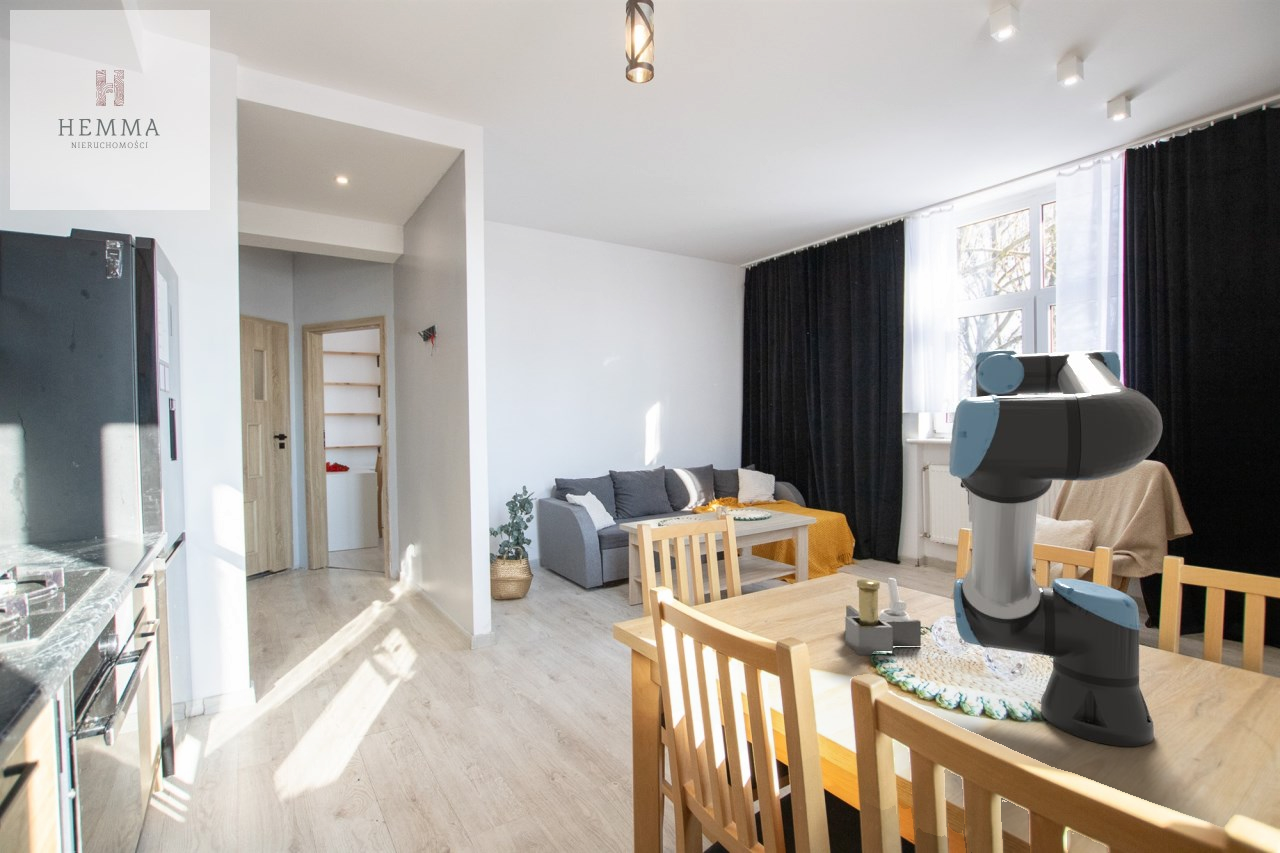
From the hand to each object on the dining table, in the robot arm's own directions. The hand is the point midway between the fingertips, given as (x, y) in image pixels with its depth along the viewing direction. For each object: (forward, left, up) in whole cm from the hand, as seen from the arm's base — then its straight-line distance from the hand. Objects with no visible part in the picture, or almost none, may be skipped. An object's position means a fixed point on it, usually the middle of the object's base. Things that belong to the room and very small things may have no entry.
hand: (997, 526), depth 125 cm
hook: (+30, +8, -29) cm, 43 cm away
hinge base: (+15, +19, -29) cm, 38 cm away
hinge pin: (+11, +23, -29) cm, 39 cm away
